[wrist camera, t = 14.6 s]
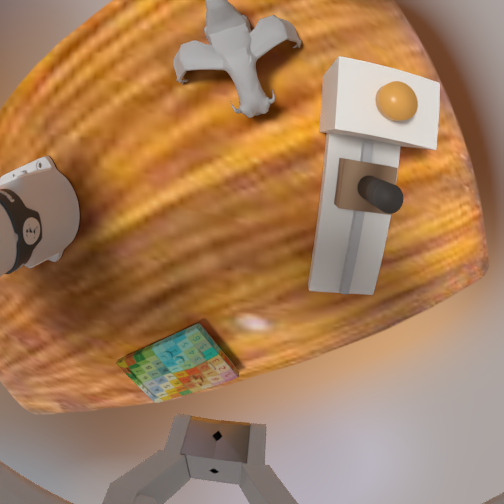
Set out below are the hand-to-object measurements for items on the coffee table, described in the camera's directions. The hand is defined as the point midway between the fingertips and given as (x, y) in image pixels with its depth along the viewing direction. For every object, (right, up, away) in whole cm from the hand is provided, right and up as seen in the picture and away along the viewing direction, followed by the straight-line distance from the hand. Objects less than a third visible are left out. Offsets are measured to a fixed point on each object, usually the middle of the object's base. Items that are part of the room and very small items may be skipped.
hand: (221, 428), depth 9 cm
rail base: (+16, +15, +30) cm, 37 cm away
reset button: (+15, +21, +17) cm, 31 cm away
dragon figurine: (-1, +32, +25) cm, 41 cm away
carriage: (+15, +15, +27) cm, 35 cm away
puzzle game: (-13, -14, +43) cm, 47 cm away
